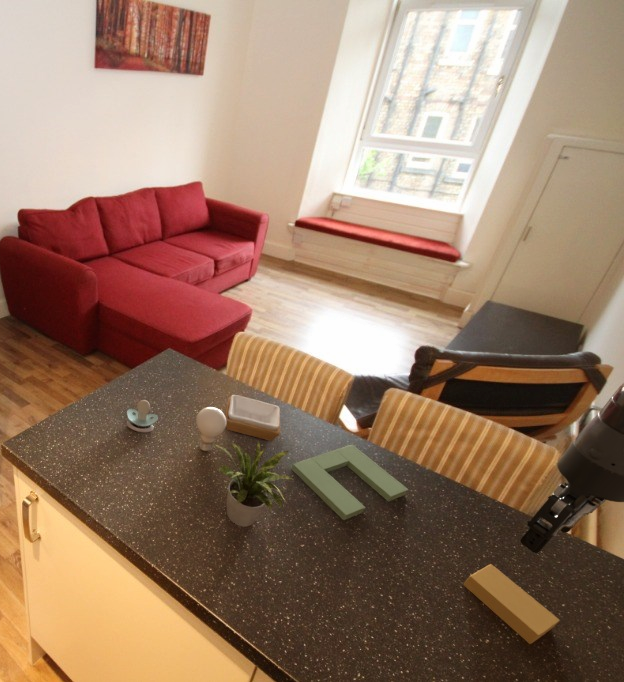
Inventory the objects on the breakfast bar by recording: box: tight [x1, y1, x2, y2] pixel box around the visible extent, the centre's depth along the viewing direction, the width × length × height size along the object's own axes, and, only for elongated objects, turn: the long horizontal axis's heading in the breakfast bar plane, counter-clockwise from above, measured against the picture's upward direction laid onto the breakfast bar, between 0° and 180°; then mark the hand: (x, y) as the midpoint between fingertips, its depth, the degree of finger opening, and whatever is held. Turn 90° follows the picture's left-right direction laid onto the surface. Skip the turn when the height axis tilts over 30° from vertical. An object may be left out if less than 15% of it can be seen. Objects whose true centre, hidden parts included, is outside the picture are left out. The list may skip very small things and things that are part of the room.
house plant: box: [211, 440, 294, 528], centre depth 80 cm, size 14×14×16 cm
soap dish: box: [224, 394, 281, 442], centre depth 106 cm, size 12×10×5 cm
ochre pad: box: [463, 563, 561, 645], centre depth 72 cm, size 6×10×2 cm, turn 24°
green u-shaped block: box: [290, 444, 409, 521], centre depth 93 cm, size 18×14×2 cm
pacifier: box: [126, 399, 159, 433], centre depth 103 cm, size 7×6×6 cm
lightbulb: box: [195, 406, 227, 452], centre depth 96 cm, size 6×6×11 cm
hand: (543, 537), depth 65 cm, fingers open, 8 cm apart
